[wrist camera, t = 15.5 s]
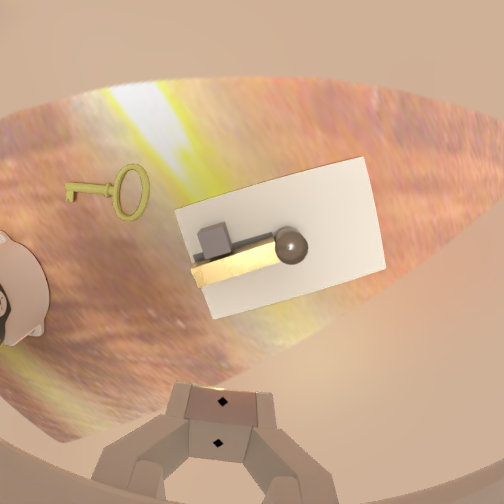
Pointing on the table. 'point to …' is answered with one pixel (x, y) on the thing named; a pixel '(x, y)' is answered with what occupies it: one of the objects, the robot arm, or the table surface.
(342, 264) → the lock plate
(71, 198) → the key
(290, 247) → the swing arm
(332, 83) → the table surface
